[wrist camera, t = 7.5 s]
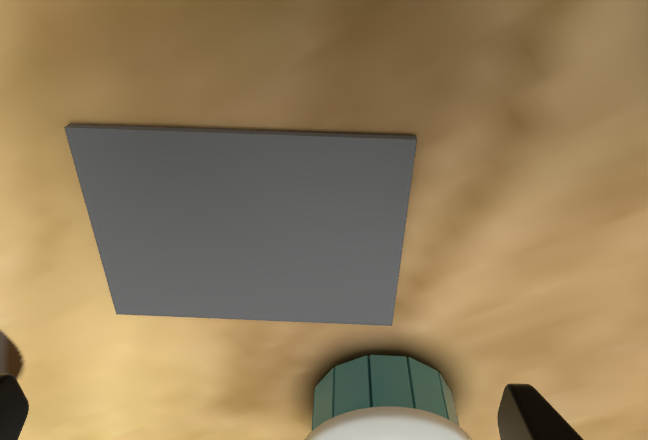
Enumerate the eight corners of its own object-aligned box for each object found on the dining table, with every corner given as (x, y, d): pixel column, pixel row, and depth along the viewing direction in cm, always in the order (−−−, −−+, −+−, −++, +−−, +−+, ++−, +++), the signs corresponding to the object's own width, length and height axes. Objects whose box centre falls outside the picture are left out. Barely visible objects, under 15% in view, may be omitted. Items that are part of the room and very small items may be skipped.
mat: (415, 135, 19) (416, 139, 19) (391, 320, 24) (391, 325, 24) (69, 123, 19) (64, 127, 19) (119, 308, 25) (116, 314, 24)
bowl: (459, 352, 26) (477, 419, 22) (438, 440, 30) (450, 507, 26) (315, 346, 26) (310, 411, 22) (313, 434, 30) (309, 500, 26)
